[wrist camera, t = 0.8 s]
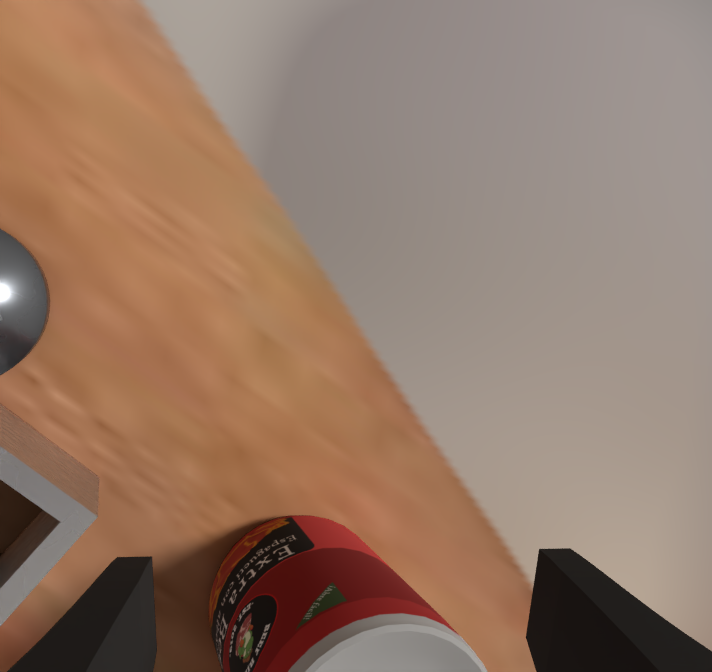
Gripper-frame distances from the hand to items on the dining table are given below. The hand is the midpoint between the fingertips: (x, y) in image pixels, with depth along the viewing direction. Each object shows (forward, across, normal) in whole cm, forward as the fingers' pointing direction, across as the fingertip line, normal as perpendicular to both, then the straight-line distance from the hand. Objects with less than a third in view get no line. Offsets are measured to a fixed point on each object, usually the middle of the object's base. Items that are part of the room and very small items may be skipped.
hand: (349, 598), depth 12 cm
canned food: (+15, +1, +12) cm, 19 cm away
